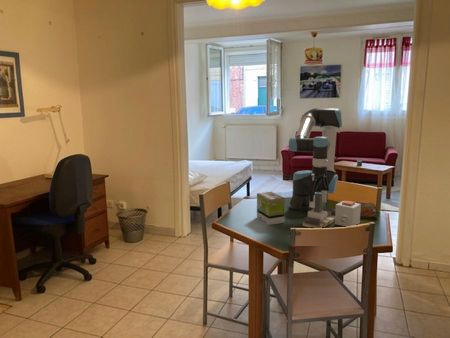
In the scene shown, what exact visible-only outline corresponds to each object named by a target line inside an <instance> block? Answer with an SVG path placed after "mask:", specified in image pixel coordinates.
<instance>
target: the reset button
mask: <svg viewBox="0 0 450 338" xmlns="http://www.w3.org/2000/svg"><path fill="white" fill-rule="evenodd" d="M343 201H344V202H342V201H341V202H342V205H347V206H353V205H355V202H356V201H350V200H343Z"/></svg>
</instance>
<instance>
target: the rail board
mask: <svg viewBox="0 0 450 338" xmlns="http://www.w3.org/2000/svg"><path fill="white" fill-rule="evenodd" d="M335 210H336V209H335V208H334V209H333V208H327V207H322V211H327V217H326V218H324V220H322V221H321V222H320V219H316V218H311V217H308V215H307V216H304V221H302V227H306V228H310V227H314V228H322V227H324V228H325V227H327V226H329V225H331V224H333V223H335ZM314 228H313V229H314ZM322 229H323V228H322Z"/></svg>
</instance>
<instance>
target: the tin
mask: <svg viewBox="0 0 450 338" xmlns="http://www.w3.org/2000/svg"><path fill="white" fill-rule="evenodd" d="M354 202H355V203H358V204H361V211H360V217H367V218H371V217H374V216H375V215H376V214H377V212H378V208H377V206H376V205H375V203H373V202H370V201H354Z"/></svg>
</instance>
